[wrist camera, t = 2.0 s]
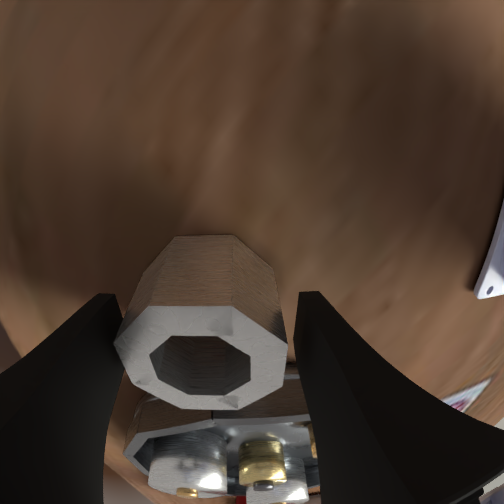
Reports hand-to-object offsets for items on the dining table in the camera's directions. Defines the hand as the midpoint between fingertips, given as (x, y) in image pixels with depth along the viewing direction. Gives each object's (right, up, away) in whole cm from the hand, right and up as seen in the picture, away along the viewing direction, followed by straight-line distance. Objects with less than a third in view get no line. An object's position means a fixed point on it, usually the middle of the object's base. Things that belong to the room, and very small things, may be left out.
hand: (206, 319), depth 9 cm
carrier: (+2, -10, +7) cm, 12 cm away
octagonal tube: (0, +1, +1) cm, 1 cm away
